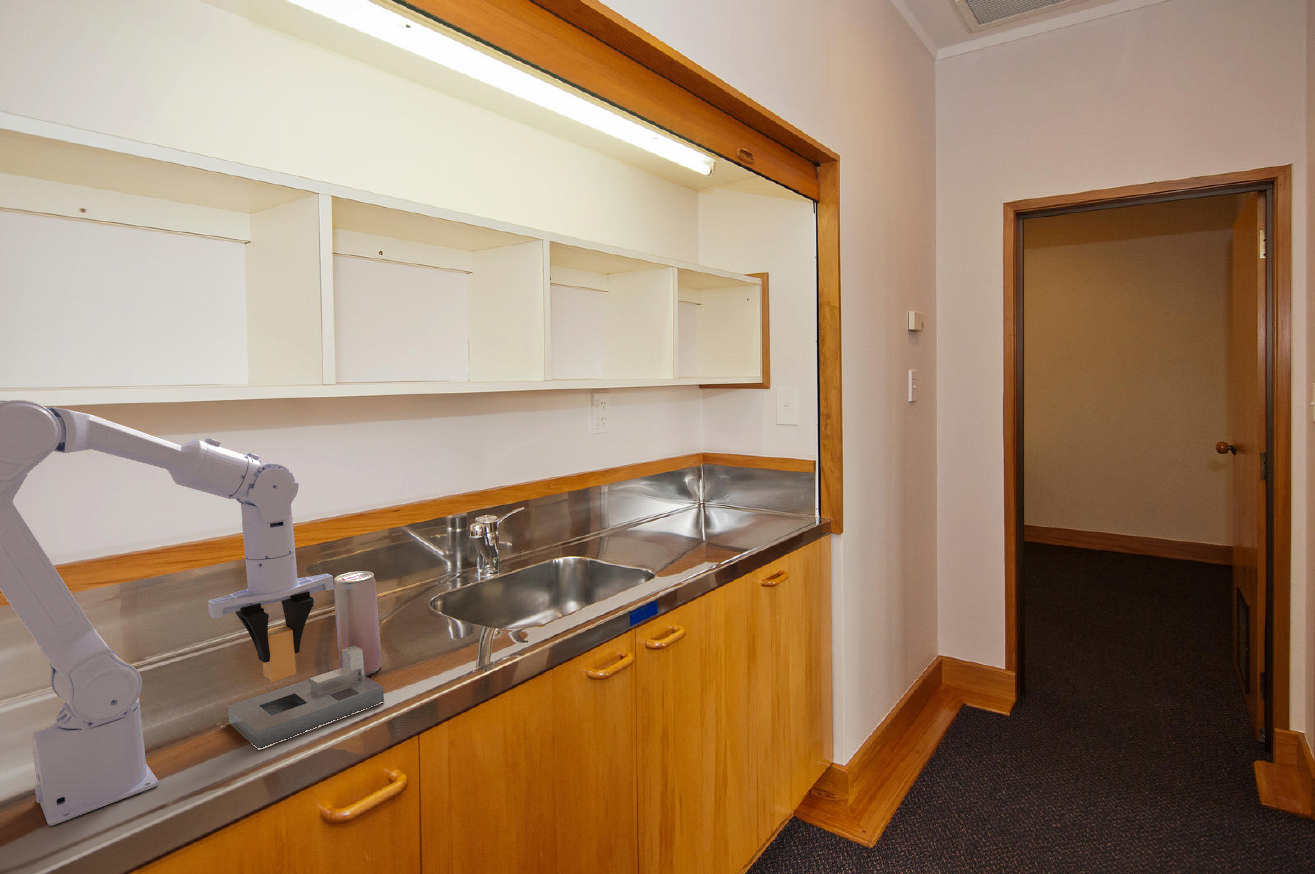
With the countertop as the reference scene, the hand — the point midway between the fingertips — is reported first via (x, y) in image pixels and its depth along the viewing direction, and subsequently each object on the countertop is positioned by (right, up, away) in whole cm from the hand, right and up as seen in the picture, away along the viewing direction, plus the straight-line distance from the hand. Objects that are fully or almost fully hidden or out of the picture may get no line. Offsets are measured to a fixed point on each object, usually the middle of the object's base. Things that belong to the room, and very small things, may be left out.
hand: (279, 655), depth 92 cm
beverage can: (+4, -8, +16) cm, 19 cm away
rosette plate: (+2, -9, +3) cm, 9 cm away
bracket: (+5, -6, +6) cm, 10 cm away
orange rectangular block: (0, -3, 0) cm, 3 cm away
